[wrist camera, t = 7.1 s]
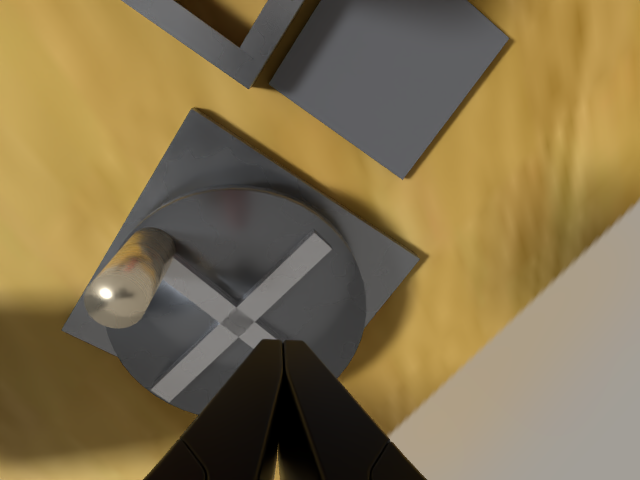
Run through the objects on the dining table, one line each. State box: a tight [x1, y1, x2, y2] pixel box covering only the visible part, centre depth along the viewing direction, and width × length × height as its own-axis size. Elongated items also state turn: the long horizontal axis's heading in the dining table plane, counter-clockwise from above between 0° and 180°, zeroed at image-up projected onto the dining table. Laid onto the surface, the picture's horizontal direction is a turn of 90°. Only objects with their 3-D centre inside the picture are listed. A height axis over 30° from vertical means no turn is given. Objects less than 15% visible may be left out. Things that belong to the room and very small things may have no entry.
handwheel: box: [84, 184, 366, 415], centre depth 18 cm, size 11×11×5 cm
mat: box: [269, 0, 509, 180], centre depth 18 cm, size 7×7×1 cm
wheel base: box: [62, 108, 420, 357], centre depth 21 cm, size 12×12×1 cm
